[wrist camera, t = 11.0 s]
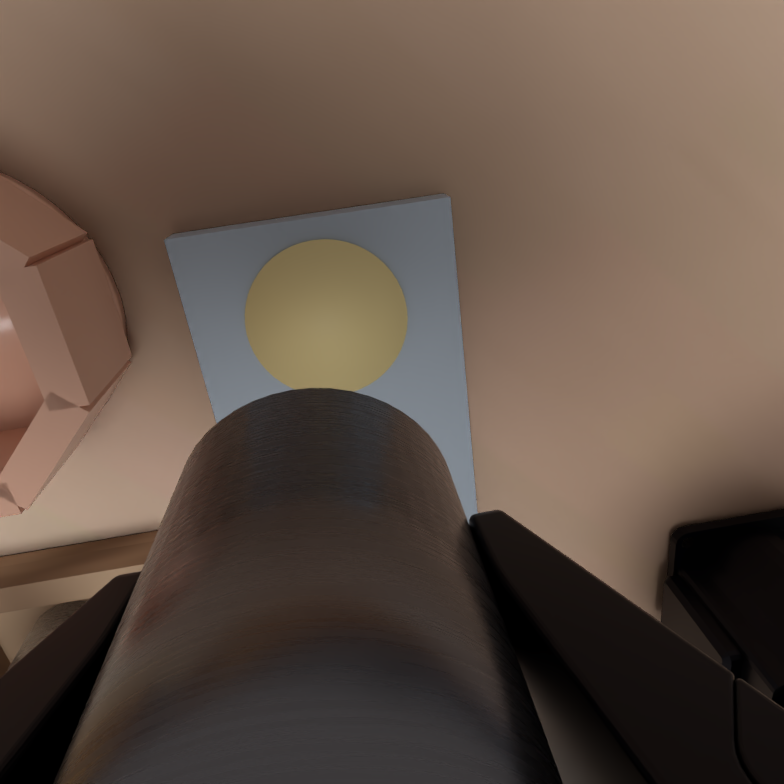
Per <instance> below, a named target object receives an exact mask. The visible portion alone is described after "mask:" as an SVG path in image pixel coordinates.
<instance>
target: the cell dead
mask: <svg viewBox="0 0 784 784" xmlns="http://www.w3.org/2000/svg"><path fill="white" fill-rule="evenodd" d="M53 784H563V782H562V780H561V777H560V774H559V771H558V769H557V766H556V763H555V760H554V758H553V755H552V752H551V749H550V747H549V744H548V741H547V738H546V736H545V733H544V730H543V727H542V725H541V722H540V719H539V716H538V714H537V711H536V708H535V705H534V702H533V700H532V697H531V694H530V691H529V689H528V686H527V683H526V680H525V678H524V675H523V672H522V669H521V667H520V664H519V661H518V658H517V656H516V653H515V650H514V647H513V645H512V642H511V639H510V636H509V634H508V631H507V628H506V625H505V623H504V620H503V617H502V614H501V612H500V609H499V606H498V603H497V601H496V598H495V595H494V592H493V590H492V587H491V584H490V581H489V579H488V576H487V573H486V570H485V567H484V565H483V562H482V559H481V556H480V554H479V551H478V548H477V545H476V543H475V540H474V537H473V534H472V532H471V529H470V526H469V523H468V521H467V518H466V515H465V512H464V510H463V507H462V504H461V501H460V499H459V496H458V493H457V490H456V488H455V485H454V482H453V479H452V477H451V474H450V471H449V468H448V466H447V463H446V461H445V459H444V457H443V455H442V453H441V451H440V449H439V447H438V446H437V445H436V443H435V442H434V441H433V439H432V438H431V437H430V435H429V434H428V433H427V432H426V431H425V430H424V429H423V428H422V427H421V426H420V425H419V424H418V423H417V422H415V421H414V420H413V419H411V418H410V417H409V416H408V415H406V414H405V413H404V412H402V411H400V410H398V409H397V408H395V407H393V406H391V405H390V404H388V403H386V402H383V401H381V400H378V399H376V398H373V397H371V396H368V395H364V394H360V393H356V392H353V391H347V390H340V389H333V388H306V389H296V390H289V391H284V392H280V393H275V394H271V395H269V396H266V397H263V398H260V399H257V400H255V401H252V402H250V403H248V404H246V405H244V406H242V407H240V408H238V409H236V410H235V411H233V412H232V413H230V414H229V415H228V416H226V417H225V418H223V419H222V420H220V421H219V422H218V423H217V424H216V425H215V426H214V427H213V428H211V429H210V430H209V431H208V432H207V433H206V434H205V436H204V437H203V438H202V439H201V440H200V442H199V443H198V444H197V445H196V447H195V448H194V450H193V451H192V453H191V455H190V456H189V458H188V460H187V462H186V464H185V467H184V469H183V471H182V474H181V476H180V479H179V481H178V484H177V486H176V488H175V491H174V493H173V496H172V498H171V500H170V503H169V505H168V508H167V510H166V513H165V515H164V517H163V520H162V522H161V525H160V527H159V529H158V532H157V534H156V537H155V539H154V541H153V544H152V546H151V549H150V551H149V554H148V556H147V558H146V561H145V563H144V566H143V568H142V570H141V573H140V575H139V578H138V580H137V583H136V585H135V587H134V590H133V592H132V595H131V597H130V599H129V602H128V604H127V607H126V609H125V612H124V614H123V616H122V619H121V621H120V624H119V626H118V628H117V631H116V633H115V636H114V638H113V641H112V643H111V645H110V648H109V650H108V653H107V655H106V657H105V660H104V662H103V665H102V667H101V669H100V672H99V674H98V677H97V679H96V682H95V684H94V686H93V689H92V691H91V694H90V696H89V698H88V701H87V703H86V706H85V708H84V711H83V713H82V715H81V718H80V720H79V723H78V725H77V727H76V730H75V732H74V735H73V737H72V740H71V742H70V744H69V747H68V749H67V752H66V754H65V756H64V759H63V761H62V764H61V766H60V769H59V771H58V773H57V776H56V778H55V781H54V783H53Z"/></svg>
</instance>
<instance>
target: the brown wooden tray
mask: <svg viewBox="0 0 784 784" xmlns="http://www.w3.org/2000/svg"><path fill="white" fill-rule="evenodd" d="M157 532H158V531H152V532H146V533H141V534H135V535H129V536H123V537H117V538H111V539H105V540H99V541H93V542H87V543H81V544H75V545H69V546H63V547H57V548H51V549H45V550H39V551H33V552H27V553H21V554H16V555H10V556H4V557H0V677H1V676H3V675H4V674H5V673H6V671H7V670H8V668H9V666H10V664H11V663H12V661H13V659H14V658H15V656H16V654H17V653H18V651H19V649H20V648H21V646H22V644H23V642H24V641H25V639H26V637H27V636H28V634H29V632H30V631H31V629H32V627H33V626H34V624H35V622H36V620H37V619H38V618H39V617H40V616H41V615H42V614H43V613H44V612H45V611H47V610H48V609H50V608H52V607H54V606H56V605H59V604H62V603H66V602H71V601H88V600H89V599H90V598H91V597H92V596H93V595H95V594H96V593H97V592H98V591H99V590H100V589H101V588H103V587H104V586H105V585H106V584H107V583H108V582H109V581H111V580H112V579H113V578H114V577H116V576H118V575H122V574H127V573H133V572H139V571H141V570H142V568H143V566H144V563H145V561H146V558H147V556H148V554H149V551H150V549H151V546H152V544H153V541H154V539H155V537H156V534H157Z"/></svg>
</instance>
